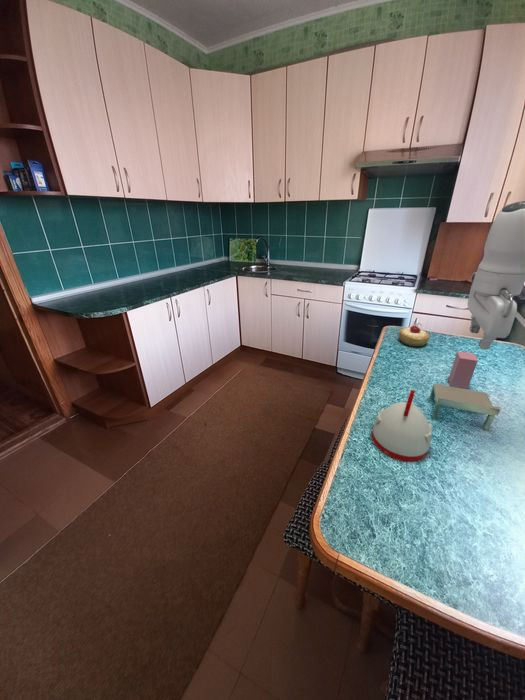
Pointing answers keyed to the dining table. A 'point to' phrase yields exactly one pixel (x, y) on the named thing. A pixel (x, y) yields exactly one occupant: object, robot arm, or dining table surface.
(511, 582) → the dining table surface
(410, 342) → the pastry
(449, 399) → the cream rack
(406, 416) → the kitchen timer
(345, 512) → the dining table surface
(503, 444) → the dining table surface
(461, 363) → the pink carton
